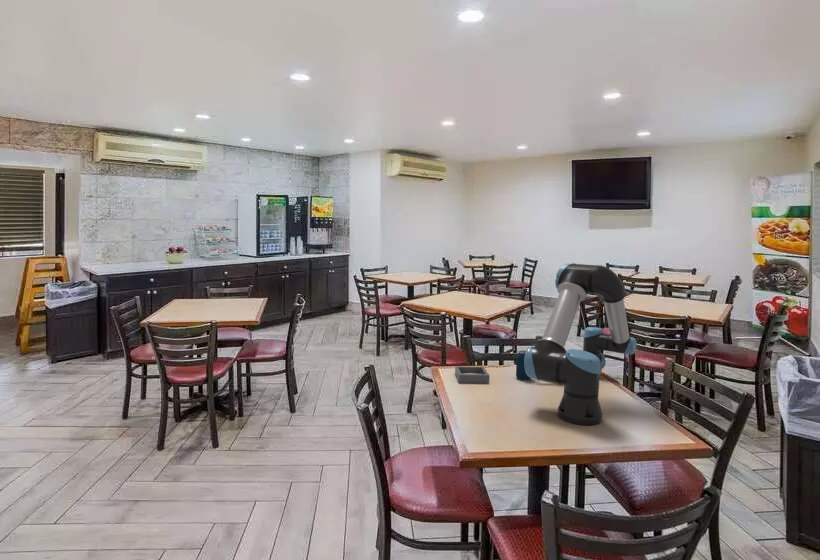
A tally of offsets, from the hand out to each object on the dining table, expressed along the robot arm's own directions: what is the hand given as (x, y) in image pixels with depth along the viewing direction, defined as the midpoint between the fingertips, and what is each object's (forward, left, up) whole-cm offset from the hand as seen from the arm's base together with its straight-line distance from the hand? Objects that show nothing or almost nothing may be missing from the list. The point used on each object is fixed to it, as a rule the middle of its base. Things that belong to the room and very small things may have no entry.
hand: (528, 364), depth 223 cm
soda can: (-2, +1, -7) cm, 7 cm away
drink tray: (-17, +19, -6) cm, 26 cm away
